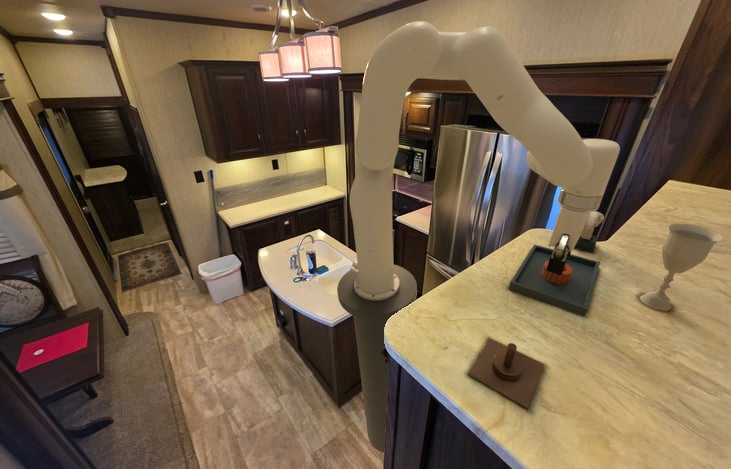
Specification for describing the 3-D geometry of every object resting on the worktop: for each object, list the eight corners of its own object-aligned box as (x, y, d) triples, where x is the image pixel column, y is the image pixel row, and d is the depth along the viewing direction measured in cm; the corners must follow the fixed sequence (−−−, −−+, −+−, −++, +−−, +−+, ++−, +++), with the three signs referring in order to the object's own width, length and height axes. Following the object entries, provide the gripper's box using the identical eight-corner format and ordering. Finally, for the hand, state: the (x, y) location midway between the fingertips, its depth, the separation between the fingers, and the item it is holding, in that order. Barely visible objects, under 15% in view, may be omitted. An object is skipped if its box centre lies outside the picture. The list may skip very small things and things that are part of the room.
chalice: (626, 296, 66) (660, 227, 58) (646, 288, 68) (682, 220, 59) (664, 317, 60) (708, 244, 52) (685, 308, 62) (731, 236, 53)
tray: (508, 288, 71) (510, 282, 70) (532, 250, 85) (534, 244, 84) (584, 316, 62) (587, 309, 61) (597, 268, 76) (600, 261, 75)
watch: (595, 243, 86) (608, 209, 81) (591, 255, 81) (604, 220, 76) (573, 237, 89) (584, 205, 84) (568, 249, 84) (579, 215, 79)
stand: (467, 374, 52) (471, 350, 49) (488, 339, 59) (493, 316, 55) (527, 409, 46) (537, 385, 43) (543, 366, 53) (552, 341, 49)
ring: (539, 278, 73) (541, 268, 72) (544, 266, 77) (547, 257, 75) (566, 287, 70) (570, 277, 68) (571, 274, 73) (574, 265, 72)
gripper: (567, 184, 71) (549, 243, 79) (550, 208, 60) (531, 274, 68) (605, 190, 66) (582, 252, 75) (595, 217, 55) (569, 286, 63)
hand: (558, 262), depth 71 cm, fingers open, 9 cm apart
